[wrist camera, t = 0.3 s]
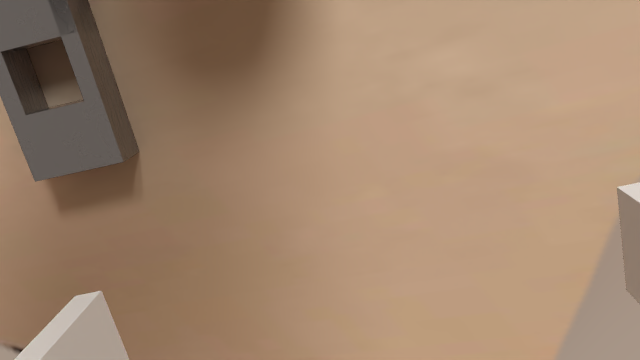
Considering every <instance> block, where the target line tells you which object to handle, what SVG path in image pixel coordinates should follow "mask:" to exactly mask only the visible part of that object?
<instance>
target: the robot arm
mask: <svg viewBox="0 0 640 360" xmlns="http://www.w3.org/2000/svg"><path fill="white" fill-rule="evenodd" d="M617 194H618V205H619V216H620V226H621V238H622V247H623V248H622V249H623V259H624V271H625V281H626V290H627V291H628V292H629V293H630V294H631V295H632V296H633V297H634V299H636V301H637V302H638V303H639V304H640V183H635V184H630V185H625V186H620V187H617ZM14 360H129V357H128V355H127V352H126V350H125V348H124V345H123V343H122V340H121V338H120V335H119V333H118V330H117V328H116V325H115V323H114V320H113V318H112V315H111V313H110V310H109V308H108V305H107V303H106V301H105V298H104V296H103V293H102V291H97V292H92V293H87V294H82V295H77V296H74V298H73V299H72V300H71V301H70V302H69V303H68V304H67V305H66V306H65V307H64V308H63V309H62V310H61V311H60V312H59V313H58V314H57V315H56V316H55V317H54V318H53V319H52V320H51V321H50V323H49V324H48V325H47V326H46V327H45V328H44V329H43V330H42V331H41V332H40V333H39V334H38V335H37V336H36V337H35V338H34V339H33V340H32V341H31V342H30V343H29V344H28V345H27V346H26V348H25V349H24V350H23V351H22V352H21V353H20V354H19V355H18V356H17V357H16V358H15V359H14Z"/></svg>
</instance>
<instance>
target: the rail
mask: <svg viewBox="0 0 640 360" xmlns="http://www.w3.org/2000/svg"><path fill="white" fill-rule="evenodd" d="M61 39H62V41H63V44H64V46H65V49H66V52H67V55H68V57H69V60H70V63H71V66H72V69H73V71H74V74H75V77H76V80H77V82H78V85H79V88H80V91H81V94H82V96H83V99H84V100H80V101H75V102H71V103H67V104H63V105H59V106H55V107H50V108H48V105H47V103H46V100H45V97H44V95H43V92H42V89H41V87H40V84H39V82H38V79H37V76H36V74H35V71H34V68H33V66H32V63H31V61H30V58H29V55H28V53H27V50H26V48H30V47H34V46H38V45H42V44H46V43H50V42H54V41H57V40H61ZM0 96H1V98H2V101H3V103H4V106H5V108H6V111H7V113H8V116H9V118H10V121H11V123H12V126H13V128H14V131H15V133H16V136H17V138H18V141H19V143H20V146H21V148H22V151H23V153H24V155H25V158H26V160H27V163H28V165H29V168H30V170H31V173H32V175H33V178H34V180H35V182H36V181H40V180H45V179H49V178H54V177H58V176H63V175H67V174H72V173H76V172H81V171H85V170H90V169H94V168H99V167H103V166H108V165H112V164H117V163H121V162H124V161H126V160H127V159H129V158H130V157H132V156H133V155H135V154H136V153H138V152H139V149H138V146H137V143H136V140H135V137H134V134H133V132H132V129H131V126H130V123H129V120H128V117H127V114H126V111H125V108H124V105H123V102H122V99H121V96H120V93H119V90H118V87H117V85H116V82H115V79H114V76H113V73H112V70H111V67H110V64H109V61H108V58H107V55H106V52H105V49H104V46H103V43H102V40H101V38H100V35H99V32H98V29H97V26H96V23H95V20H94V17H93V14H92V11H91V8H90V5H89V2H88V0H0Z"/></svg>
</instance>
